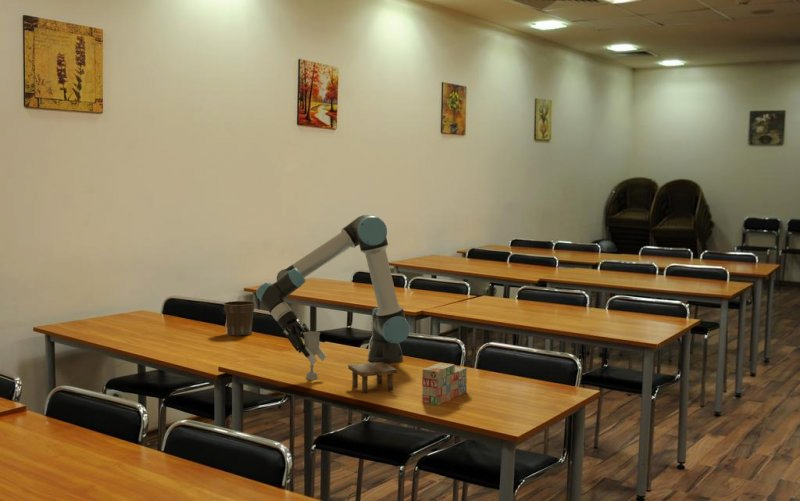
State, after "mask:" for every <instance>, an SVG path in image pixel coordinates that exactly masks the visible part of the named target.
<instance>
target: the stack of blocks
mask: <svg viewBox="0 0 800 501" xmlns="http://www.w3.org/2000/svg"><path fill="white" fill-rule="evenodd" d="M421 380H422V383H421V384H422V396H421V397H422V398H421V400H422V401H421V403H422V404H428V405H433V406H439V405H441V404H444V403H446V402H448V401H451V400H452V399H455V398H457V397H459V396H462V395H464V394H466V393H467V381H468V380H467V368H466V367H462V366H461V367H460V366H455V364H454V363H445V362H439V363H438V362H437V363H436V364H435V363H434V364H433V365H430V366H428V367H424V368H423V369H422V379H421Z"/></svg>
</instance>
